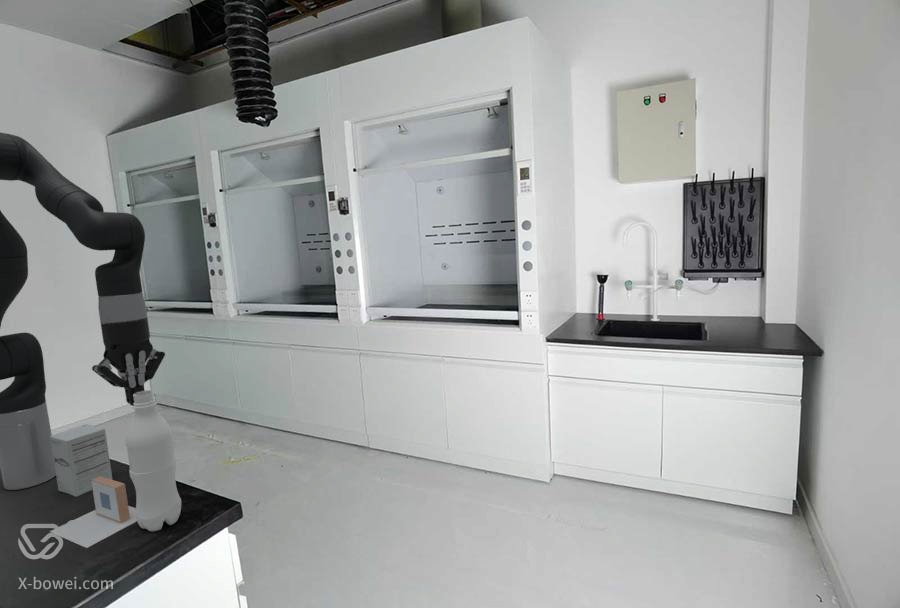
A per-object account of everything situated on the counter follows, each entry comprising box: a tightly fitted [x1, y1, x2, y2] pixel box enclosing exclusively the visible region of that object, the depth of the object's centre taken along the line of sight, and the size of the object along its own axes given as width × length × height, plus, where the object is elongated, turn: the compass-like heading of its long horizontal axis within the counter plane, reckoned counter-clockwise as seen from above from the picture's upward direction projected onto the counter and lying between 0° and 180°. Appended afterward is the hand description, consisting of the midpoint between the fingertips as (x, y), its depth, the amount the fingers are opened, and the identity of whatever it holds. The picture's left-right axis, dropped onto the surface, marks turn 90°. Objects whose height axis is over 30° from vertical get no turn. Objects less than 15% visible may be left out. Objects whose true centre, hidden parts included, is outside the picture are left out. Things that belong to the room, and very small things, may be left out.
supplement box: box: [50, 423, 114, 498], centre depth 103 cm, size 7×7×13 cm
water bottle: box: [124, 389, 182, 532], centre depth 87 cm, size 7×7×25 cm
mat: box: [49, 505, 138, 549], centre depth 89 cm, size 12×11×1 cm
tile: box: [91, 476, 130, 523], centre depth 90 cm, size 8×2×7 cm, turn 64°
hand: (136, 404), depth 94 cm, fingers closed
